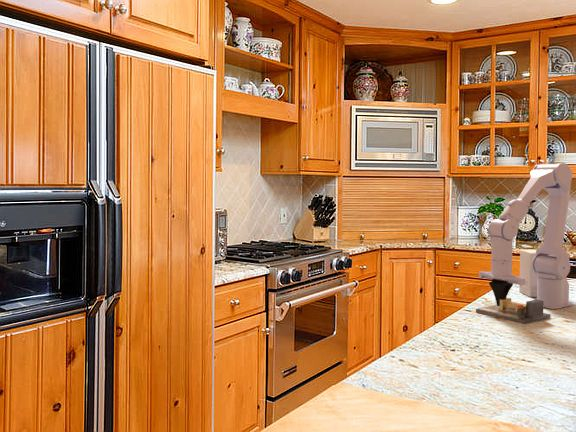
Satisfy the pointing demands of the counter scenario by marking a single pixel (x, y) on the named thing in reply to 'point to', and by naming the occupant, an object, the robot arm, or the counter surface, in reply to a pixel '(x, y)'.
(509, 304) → the wooden u-shaped cradle
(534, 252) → the supplement box
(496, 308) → the gauge base
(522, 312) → the orange and grey block
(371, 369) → the counter surface
